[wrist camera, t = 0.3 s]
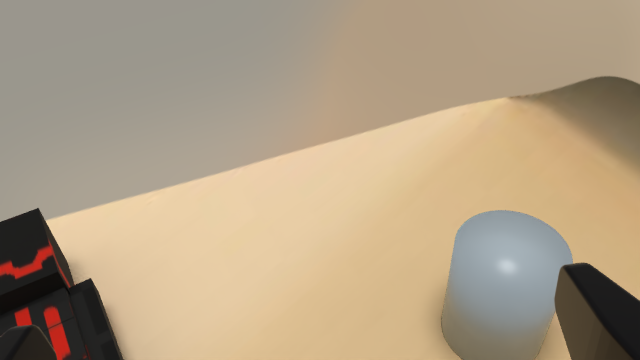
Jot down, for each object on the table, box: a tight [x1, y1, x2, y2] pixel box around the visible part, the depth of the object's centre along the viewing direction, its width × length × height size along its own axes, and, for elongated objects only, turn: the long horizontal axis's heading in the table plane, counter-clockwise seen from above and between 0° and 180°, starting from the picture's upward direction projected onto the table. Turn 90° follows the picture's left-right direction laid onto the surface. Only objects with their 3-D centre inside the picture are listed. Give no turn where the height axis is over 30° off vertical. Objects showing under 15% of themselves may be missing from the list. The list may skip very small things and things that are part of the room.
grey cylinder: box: [441, 210, 573, 360], centre depth 27 cm, size 5×5×6 cm
